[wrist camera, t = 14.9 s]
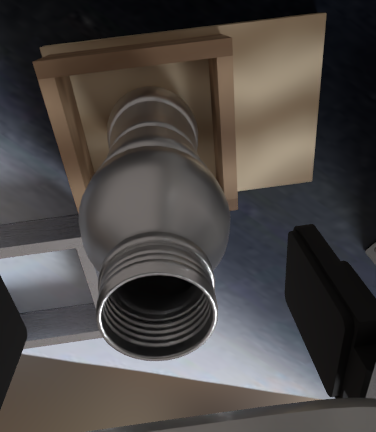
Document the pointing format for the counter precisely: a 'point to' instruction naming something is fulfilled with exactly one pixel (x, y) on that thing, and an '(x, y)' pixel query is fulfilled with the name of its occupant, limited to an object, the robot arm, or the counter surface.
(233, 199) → the wooden tray
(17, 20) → the counter surface
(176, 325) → the plastic bottle
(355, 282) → the robot arm
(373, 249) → the supplement box
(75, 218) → the holder
